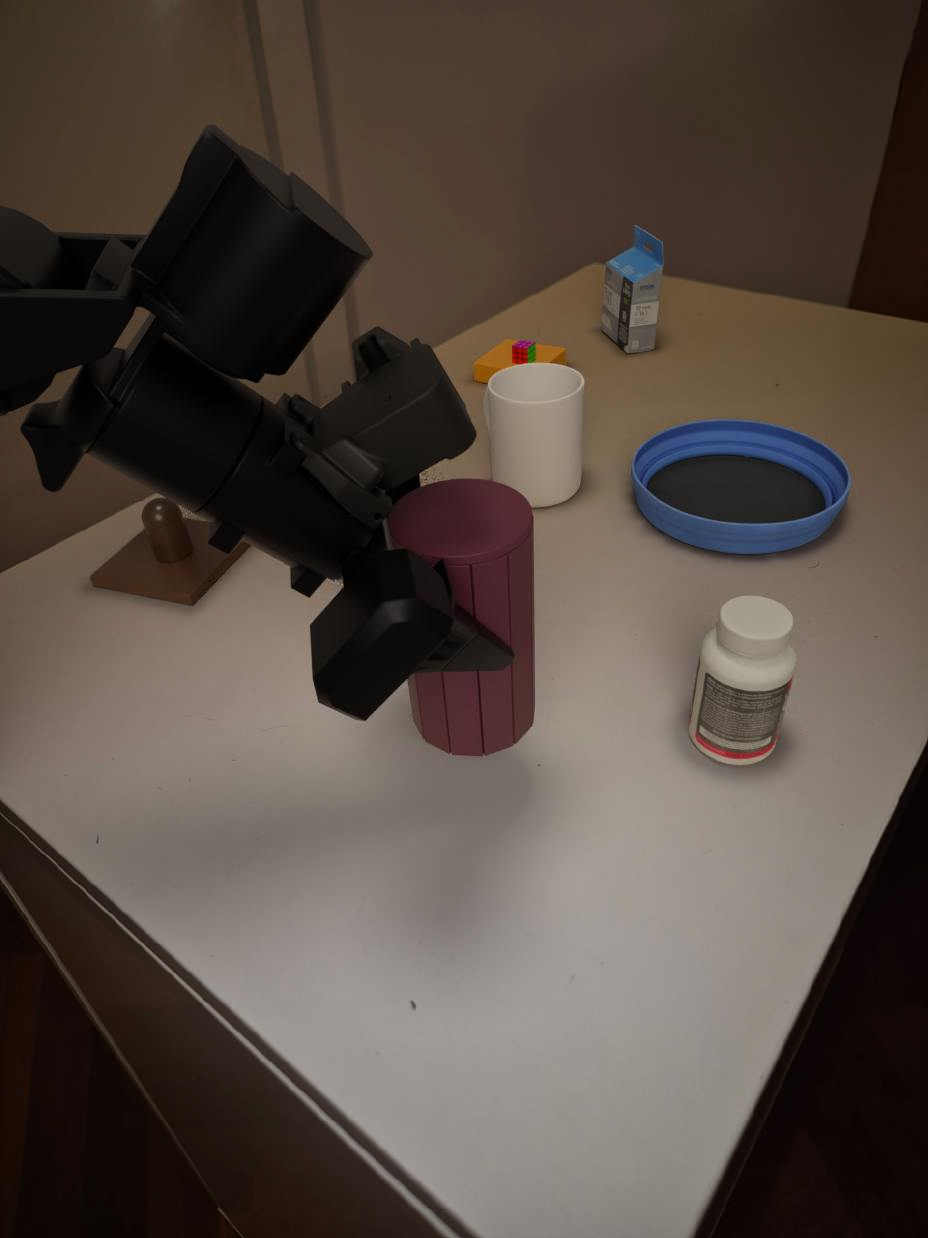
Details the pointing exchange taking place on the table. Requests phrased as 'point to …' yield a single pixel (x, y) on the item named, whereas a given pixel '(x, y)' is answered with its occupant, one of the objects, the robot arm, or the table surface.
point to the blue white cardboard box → (633, 294)
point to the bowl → (739, 485)
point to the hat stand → (167, 557)
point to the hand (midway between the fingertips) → (493, 615)
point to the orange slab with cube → (516, 357)
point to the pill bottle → (743, 681)
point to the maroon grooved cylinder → (476, 608)
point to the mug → (536, 430)
